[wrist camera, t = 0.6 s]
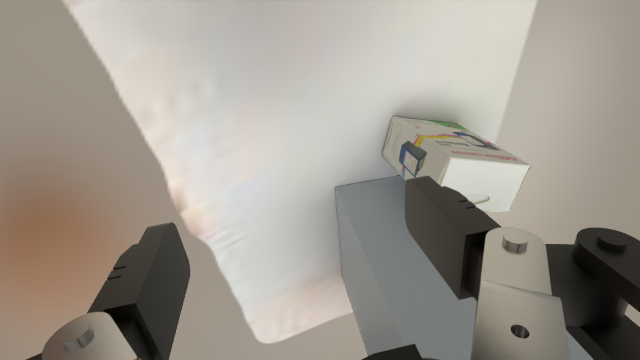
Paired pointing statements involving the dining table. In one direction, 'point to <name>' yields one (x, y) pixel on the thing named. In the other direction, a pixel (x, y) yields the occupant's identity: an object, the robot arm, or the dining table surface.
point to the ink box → (456, 161)
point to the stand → (400, 279)
